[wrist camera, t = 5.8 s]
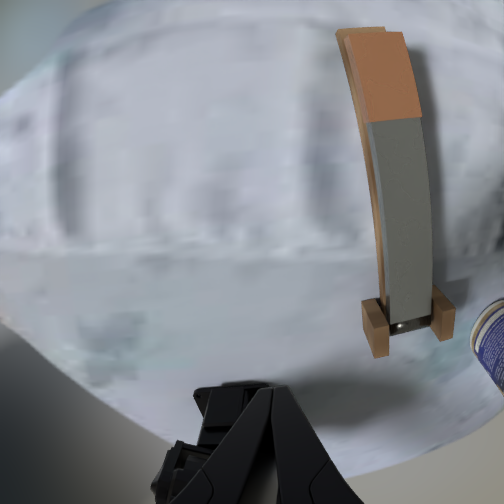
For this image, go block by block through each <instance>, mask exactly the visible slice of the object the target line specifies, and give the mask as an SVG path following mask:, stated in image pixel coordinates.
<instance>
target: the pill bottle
mask: <svg viewBox="0 0 504 504" xmlns="http://www.w3.org/2000/svg"><path fill="white" fill-rule="evenodd" d="M470 346H471V349H472V351H473V353H474V354H475V356H476V357H477V359H478V360H479V361H480V363H481V364H482V366H483V367H484V368H485V370H486V371H487V373H488V374H489V375H490V377H491V378H492V380H493V381H494V383H495V384H496V385H497V387H498V388H499V390H500V391H501V393H502V394H503V396H504V300H501V301H498V302H495V303H493V304H492V305H490V306H489V307H488V308H487V309H485V310H484V311H483V312H482V314H481V315H480V316H479V318H478V319H477V321H476V322H475V324H474V326H473V329H472V331H471V335H470Z"/></svg>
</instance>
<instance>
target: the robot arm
mask: <svg viewBox="0 0 504 504" xmlns="http://www.w3.org/2000/svg"><path fill="white" fill-rule="evenodd" d="M198 394H199V395H198ZM193 397H194V399H195V401H196V403H197V406H198V408H199V410H200V412H201V414H202V416H203V418H204V419H203V423H202V427H201V430H200V434H199V438H198V442H197V446H195V445H191V444H187V443H184V442H183V441H179V440H177V441H176V444H175V446H174V447H172V448H171V450H168V451H167V454H166V457H165V460H164V463H163V465H162V467H161V469H160V471H159V472H158V474H157V475H156V477H155V479H154V480H153V482H152V484H151V491H152V492H153V494H154V495H155V502H156V504H364V502H362V500H361V499H360V498H359V497H358V496H357V495H356V494H355V492H354V491H353V490H352V489H351V488H350V486H349V485H348V484H347V483H346V481H345V480H344V478H343V477H342V475H341V474H340V472H339V471H338V469H337V468H336V466H335V465H334V463H333V461H332V460H331V458H330V457H329V455H328V453H327V452H326V450H325V448H324V447H323V445H322V443H321V442H320V440H319V438H318V436H317V435H316V433H315V431H314V430H313V428H312V426H311V425H310V423H309V421H308V419H307V418H306V416H305V414H304V413H303V411H302V409H301V407H300V406H299V404H298V402H297V401H296V399H295V397H294V395H293V394H292V392H291V390H290V388H289V387H288V386H287V385H284V386H276V387H274V389H273V388H272V387H269V386H268V385H267V384H254V385H244V386H234V387H223V388H209V389H197V390H195V391H194V394H193Z"/></svg>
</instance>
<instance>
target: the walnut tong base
mask: <svg viewBox="0 0 504 504" xmlns="http://www.w3.org/2000/svg"><path fill="white" fill-rule="evenodd" d="M373 32H386V30H385V27H362V28H347V29H338V30H337V32H336V34H335V35H336V38H337V41H338V45H339V48H340V52H341V55H342V59H343V63H344V66H345V70H346V74H347V78H348V82H349V86H350V90H351V95H352V99H353V103H354V108H355V112H356V117H357V122H358V127H359V132H360V137H361V142H362V147H363V153H364V159H365V164H366V170H367V177H368V183H369V190H370V197H371V204H372V212H373V220H374V229H375V239H376V249H377V260H378V273H379V288H380V307H381V309H380V307H379V305H378V304H377V302H376V300H375V298H374V299H369V300H365V301H361V304H362V317H363V330H364V332H365V335H366V337H367V340H368V343H369V345H370V348H371V350H372V353H373V356H374V358H380V357H384V356H388V355H389V324H388V322H387V320H386V292H385V271H384V256H383V243H382V232H381V221H380V212H379V203H378V195H377V188H376V180H375V173H374V167H373V160H372V154H371V148H370V142H369V137H368V131H367V126H366V123H364V122H363V117H362V112H361V107H360V103H359V98H358V94H357V89H356V85H355V81H354V77H353V73H352V69H351V65H350V61H349V57H348V54H347V50H346V46H345V43H344V39H345V37H346V36H347V35H348V34H356V33H373ZM455 310H456V308H455V307H454V306H453V305H452V303H451V302H450V301H449V300H448V299H447V298H446V297H445V296H444V295H443V293H442V292H441V291H440V290H439V289H438V288H437V287H436V286H435V285H432V302H431V325H430V327H431V329H432V330H433V332H434V333H435V335H436V336H437V338H438V339H439V341H440V342H441V341H444V340H448V339H451V338H453V330H454V321H455Z"/></svg>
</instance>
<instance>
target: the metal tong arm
mask: <svg viewBox="0 0 504 504" xmlns="http://www.w3.org/2000/svg"><path fill="white" fill-rule="evenodd" d="M344 43H345V46H346V50H347V54H348V57H349V61H350V65H351V69H352V73H353V77H354V81H355V85H356V89H357V94H358V98H359V103H360V107H361V112H362V117H363V122H364V123H366V126H367V131H368V137H369V142H370V148H371V154H372V160H373V167H374V173H375V180H376V188H377V195H378V203H379V212H380V221H381V232H382V243H383V256H384V271H385V292H386V320H387V322H388V324H389V336H393V335H398V334H402V333H406V332H410V331H414V330H417V329H421V328H425V327H429V326H430V325H431V302H432V270H433V250H432V218H431V201H430V189H429V178H428V168H427V160H426V152H425V145H424V138H423V131H422V125H421V119H420V117H422V112H421V107H420V102H419V97H418V92H417V87H416V83H415V78H414V74H413V70H412V66H411V62H410V58H409V54H408V51H407V47H406V44H405V40H404V37H403V33H402V32H373V33H356V34H348V35H347V36H346V37H345V39H344Z"/></svg>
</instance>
